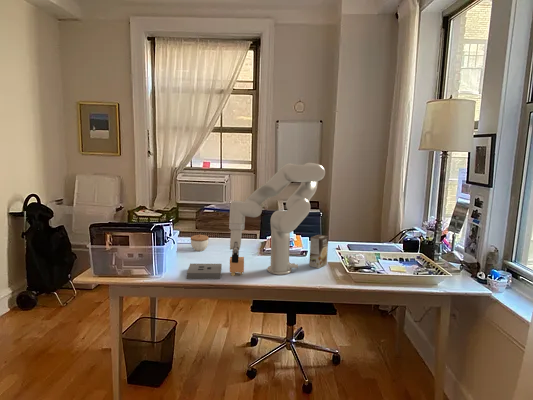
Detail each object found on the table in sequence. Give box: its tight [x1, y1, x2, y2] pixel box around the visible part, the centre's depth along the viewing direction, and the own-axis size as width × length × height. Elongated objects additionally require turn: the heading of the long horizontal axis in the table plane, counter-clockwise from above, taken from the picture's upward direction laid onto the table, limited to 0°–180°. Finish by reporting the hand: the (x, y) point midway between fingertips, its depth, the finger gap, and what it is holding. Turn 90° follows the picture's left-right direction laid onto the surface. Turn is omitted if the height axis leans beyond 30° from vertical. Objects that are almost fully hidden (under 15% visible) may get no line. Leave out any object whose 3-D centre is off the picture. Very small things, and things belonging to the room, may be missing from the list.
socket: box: [186, 263, 223, 280], centre depth 196 cm, size 16×14×3 cm
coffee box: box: [309, 234, 329, 269], centre depth 213 cm, size 9×6×16 cm
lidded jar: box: [190, 234, 209, 252], centre depth 237 cm, size 11×11×9 cm
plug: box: [229, 256, 245, 277], centre depth 197 cm, size 7×6×8 cm
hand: (235, 259), depth 196 cm, fingers open, 9 cm apart
